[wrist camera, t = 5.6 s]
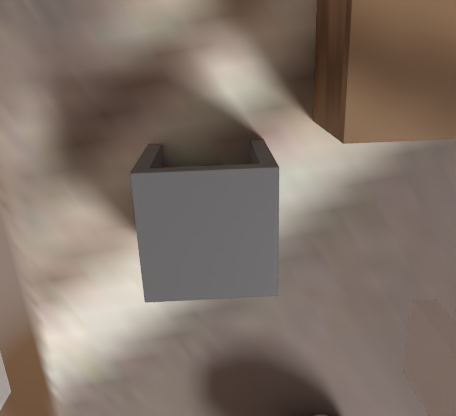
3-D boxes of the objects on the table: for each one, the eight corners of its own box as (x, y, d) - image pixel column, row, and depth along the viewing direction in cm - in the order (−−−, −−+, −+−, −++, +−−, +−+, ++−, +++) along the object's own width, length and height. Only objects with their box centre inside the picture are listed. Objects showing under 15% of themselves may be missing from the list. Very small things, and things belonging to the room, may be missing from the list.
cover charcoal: (148, 144, 26) (129, 173, 20) (263, 139, 26) (279, 167, 20) (158, 248, 29) (144, 302, 23) (264, 243, 29) (278, 295, 23)
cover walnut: (317, -8, 24) (353, -27, 18) (443, -13, 24) (523, -32, 18) (312, 120, 26) (343, 143, 20) (427, 116, 26) (492, 137, 20)
